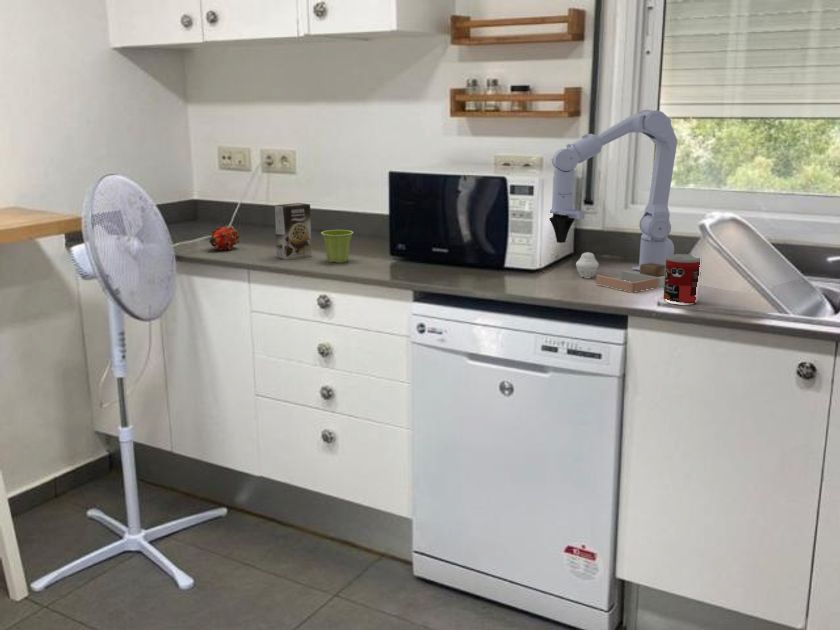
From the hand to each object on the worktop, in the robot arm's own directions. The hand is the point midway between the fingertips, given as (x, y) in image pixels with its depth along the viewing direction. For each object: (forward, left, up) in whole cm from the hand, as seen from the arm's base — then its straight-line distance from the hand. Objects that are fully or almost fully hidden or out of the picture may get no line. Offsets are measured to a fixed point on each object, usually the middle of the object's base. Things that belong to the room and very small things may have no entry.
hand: (561, 242), depth 237 cm
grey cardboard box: (+49, -65, -8) cm, 82 cm away
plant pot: (+42, -51, -8) cm, 66 cm away
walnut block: (-10, +24, -8) cm, 27 cm away
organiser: (-5, +24, -8) cm, 26 cm away
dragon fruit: (+61, -89, -8) cm, 108 cm away
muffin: (0, +10, -8) cm, 13 cm away
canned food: (+4, +43, -8) cm, 44 cm away
